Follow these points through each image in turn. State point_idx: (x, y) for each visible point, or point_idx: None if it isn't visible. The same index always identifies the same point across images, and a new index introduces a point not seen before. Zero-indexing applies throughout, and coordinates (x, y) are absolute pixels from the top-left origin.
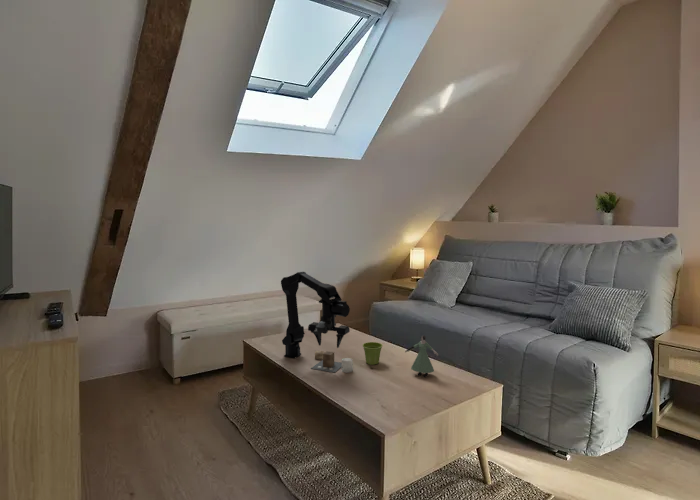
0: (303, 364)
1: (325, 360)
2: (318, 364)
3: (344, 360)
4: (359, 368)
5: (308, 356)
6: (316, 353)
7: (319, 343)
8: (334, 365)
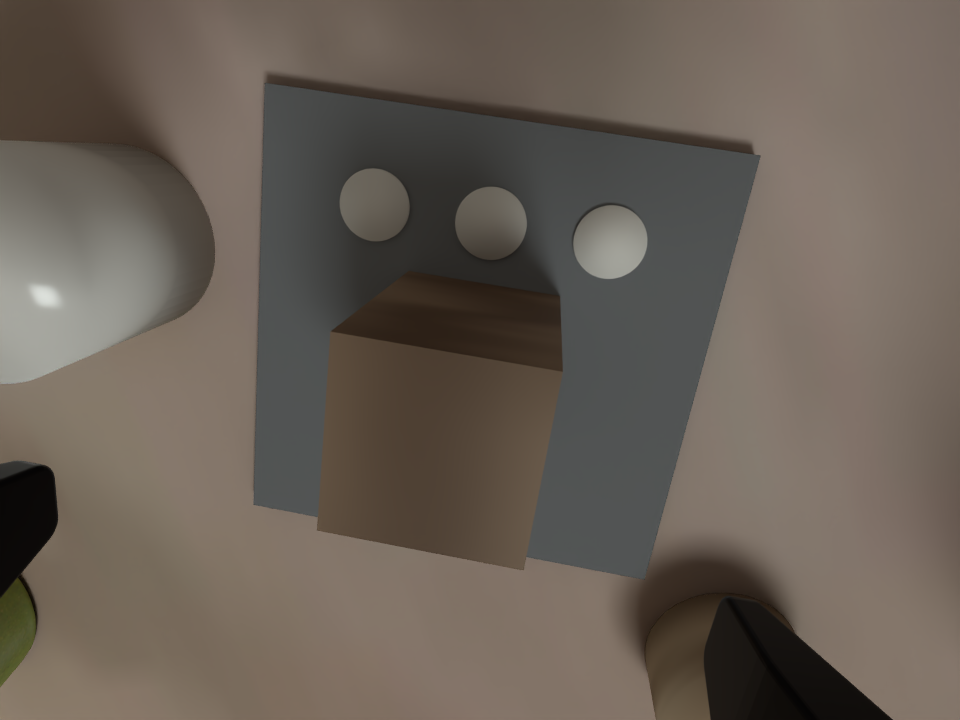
0: (953, 346)
1: (497, 315)
2: (662, 367)
3: (5, 225)
4: None
5: (922, 696)
6: None
7: (756, 641)
8: None
